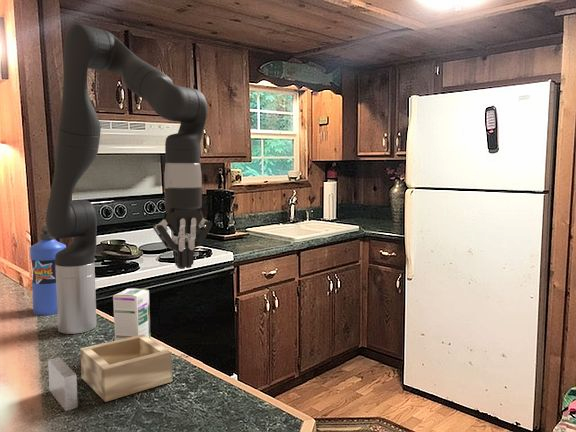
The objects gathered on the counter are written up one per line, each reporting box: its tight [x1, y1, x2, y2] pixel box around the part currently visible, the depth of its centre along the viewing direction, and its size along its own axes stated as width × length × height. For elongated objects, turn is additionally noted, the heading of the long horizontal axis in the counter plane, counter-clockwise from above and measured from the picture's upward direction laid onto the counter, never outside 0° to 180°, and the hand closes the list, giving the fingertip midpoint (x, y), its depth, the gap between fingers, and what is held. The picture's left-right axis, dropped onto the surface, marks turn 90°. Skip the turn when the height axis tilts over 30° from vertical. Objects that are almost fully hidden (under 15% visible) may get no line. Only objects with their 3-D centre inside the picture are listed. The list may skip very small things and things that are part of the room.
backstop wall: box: [47, 356, 79, 412], centre depth 88 cm, size 10×2×6 cm, turn 41°
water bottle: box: [29, 224, 67, 316], centre depth 140 cm, size 9×9×25 cm
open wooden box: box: [80, 334, 173, 403], centre depth 95 cm, size 13×13×6 cm
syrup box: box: [112, 288, 152, 341], centre depth 108 cm, size 6×6×14 cm
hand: (184, 267), depth 102 cm, fingers closed
